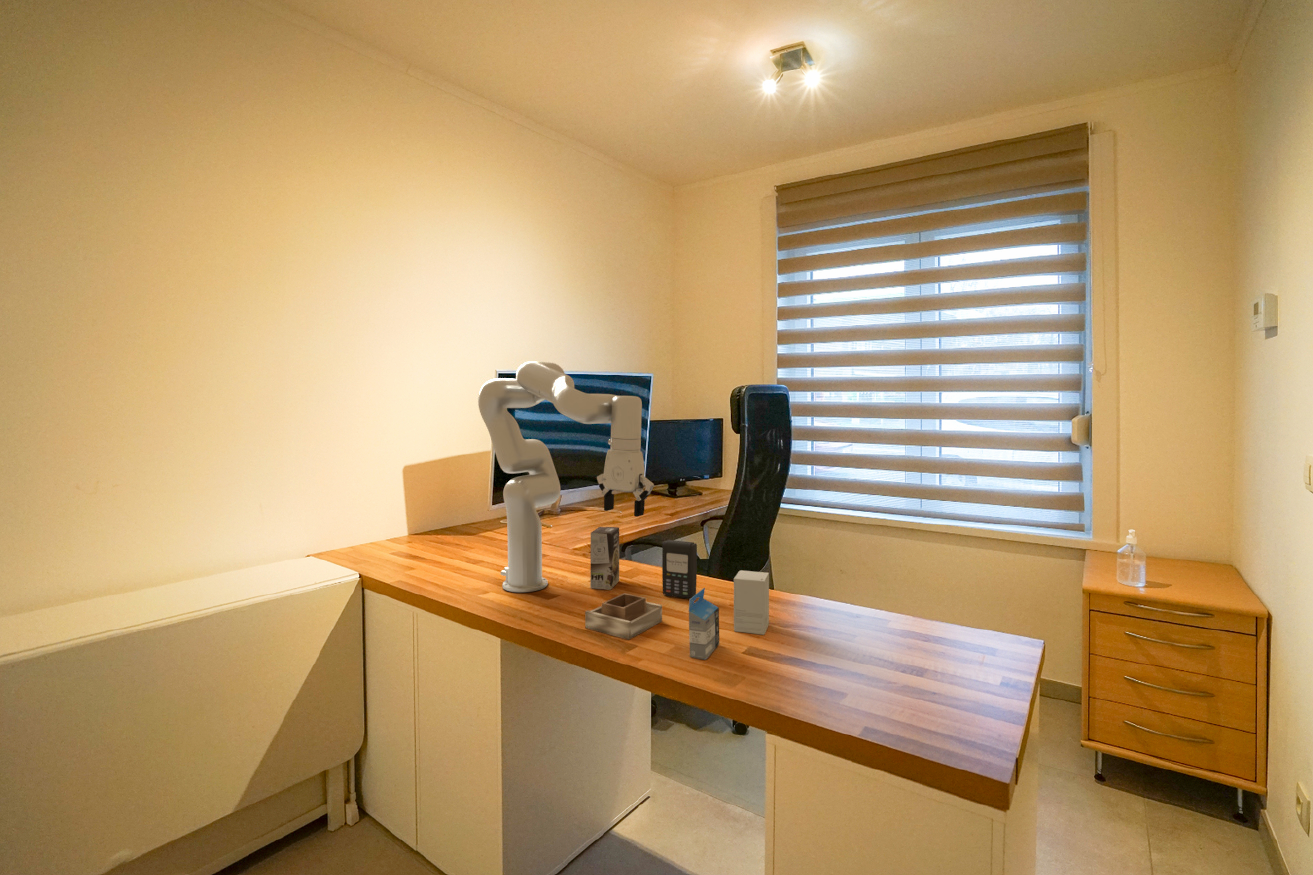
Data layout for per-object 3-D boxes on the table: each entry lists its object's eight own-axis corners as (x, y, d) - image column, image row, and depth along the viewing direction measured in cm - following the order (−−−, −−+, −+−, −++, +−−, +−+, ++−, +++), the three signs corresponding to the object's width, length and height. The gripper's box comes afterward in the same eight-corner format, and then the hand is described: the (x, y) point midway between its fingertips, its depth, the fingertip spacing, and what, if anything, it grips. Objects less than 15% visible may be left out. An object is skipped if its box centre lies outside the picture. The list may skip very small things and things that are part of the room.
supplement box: (769, 624, 144) (770, 572, 143) (764, 635, 137) (765, 581, 136) (739, 620, 147) (739, 569, 146) (732, 631, 140) (733, 577, 139)
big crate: (585, 627, 141) (585, 611, 141) (620, 610, 153) (620, 595, 152) (628, 639, 134) (628, 622, 134) (662, 621, 146) (662, 605, 146)
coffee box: (611, 590, 169) (611, 533, 168) (589, 588, 171) (589, 532, 170) (620, 580, 178) (620, 526, 177) (599, 579, 180) (599, 525, 179)
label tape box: (706, 660, 124) (706, 601, 123) (687, 657, 126) (688, 599, 125) (720, 644, 132) (720, 589, 131) (702, 641, 134) (703, 587, 133)
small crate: (601, 624, 142) (601, 603, 141) (624, 612, 149) (624, 592, 149) (623, 629, 138) (623, 608, 138) (645, 618, 146) (645, 597, 145)
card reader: (660, 596, 164) (660, 541, 163) (666, 591, 168) (666, 538, 167) (692, 600, 161) (692, 545, 160) (697, 596, 164) (697, 541, 163)
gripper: (589, 443, 153) (587, 510, 154) (644, 449, 143) (642, 520, 144) (608, 441, 159) (606, 506, 160) (662, 447, 149) (660, 515, 150)
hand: (623, 512), depth 152 cm, fingers open, 9 cm apart
